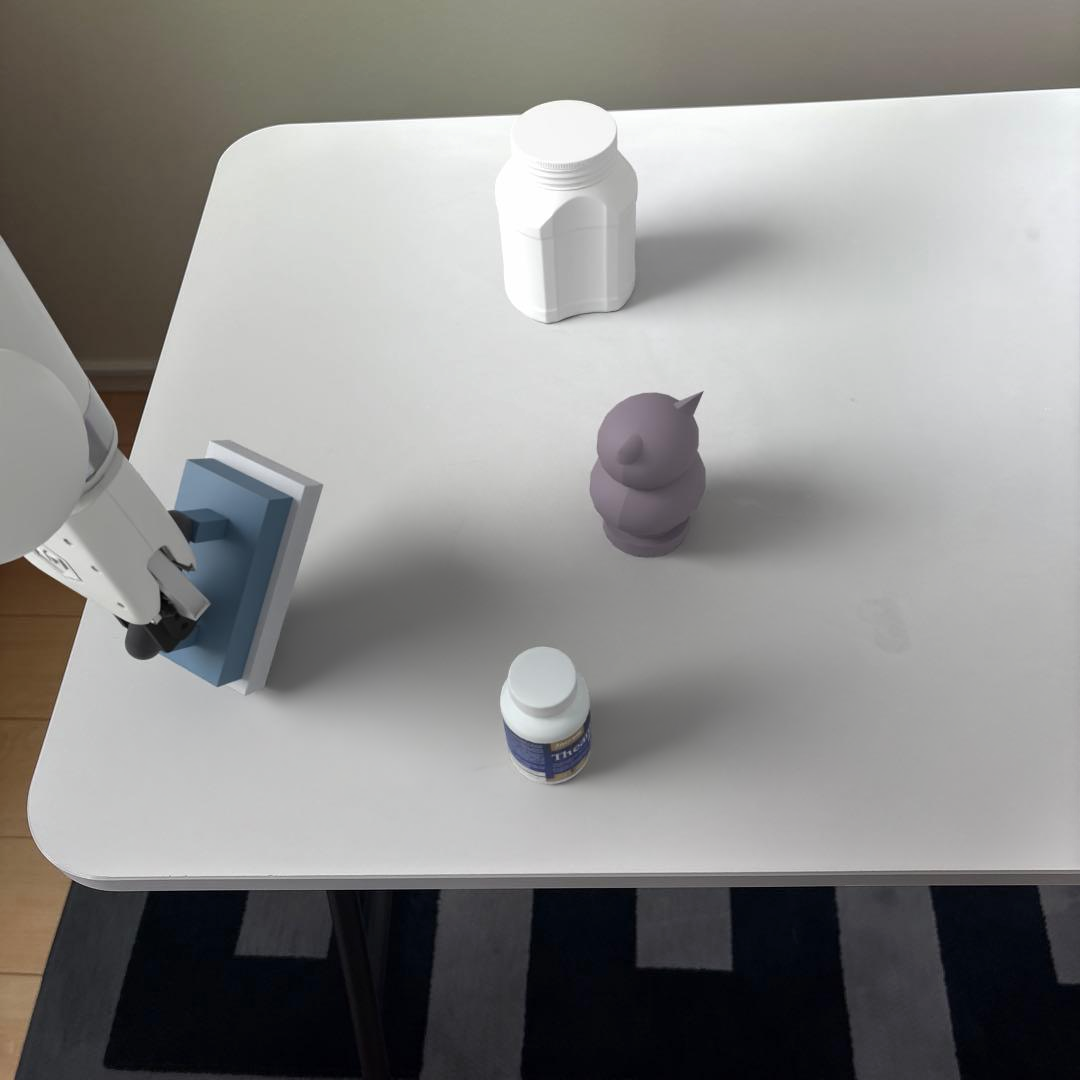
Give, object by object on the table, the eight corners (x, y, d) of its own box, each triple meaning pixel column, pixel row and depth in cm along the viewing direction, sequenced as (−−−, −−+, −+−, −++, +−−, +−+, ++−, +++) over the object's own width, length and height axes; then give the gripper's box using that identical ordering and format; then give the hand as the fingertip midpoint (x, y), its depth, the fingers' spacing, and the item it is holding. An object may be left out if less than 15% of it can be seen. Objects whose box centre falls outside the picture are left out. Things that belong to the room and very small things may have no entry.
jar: (619, 235, 97) (620, 83, 85) (647, 305, 92) (653, 153, 79) (496, 258, 96) (479, 108, 84) (516, 330, 91) (502, 180, 79)
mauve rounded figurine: (648, 459, 82) (653, 346, 72) (725, 518, 78) (740, 407, 69) (567, 522, 79) (560, 413, 69) (643, 586, 75) (647, 481, 66)
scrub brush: (229, 439, 71) (125, 442, 63) (324, 484, 68) (228, 493, 60) (176, 639, 75) (71, 667, 66) (264, 689, 72) (166, 725, 64)
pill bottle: (564, 801, 66) (558, 735, 59) (493, 761, 68) (477, 691, 60) (607, 733, 69) (606, 660, 61) (537, 695, 71) (527, 620, 63)
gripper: (-143, 426, 52) (30, 612, 67) (92, 563, 47) (221, 731, 62) (-27, 327, 55) (113, 526, 70) (205, 445, 50) (301, 632, 65)
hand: (163, 620), depth 66 cm, fingers closed on scrub brush, 2 cm apart
